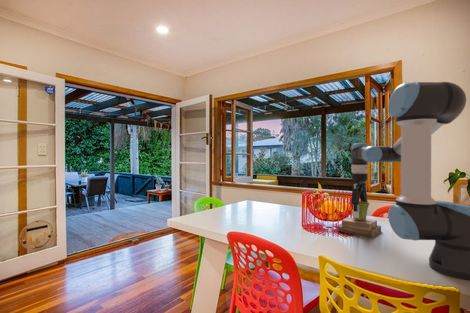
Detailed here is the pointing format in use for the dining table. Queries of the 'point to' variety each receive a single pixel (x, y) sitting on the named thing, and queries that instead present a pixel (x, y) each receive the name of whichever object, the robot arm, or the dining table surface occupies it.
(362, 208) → the plant pot
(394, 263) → the dining table surface
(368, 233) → the plinth
